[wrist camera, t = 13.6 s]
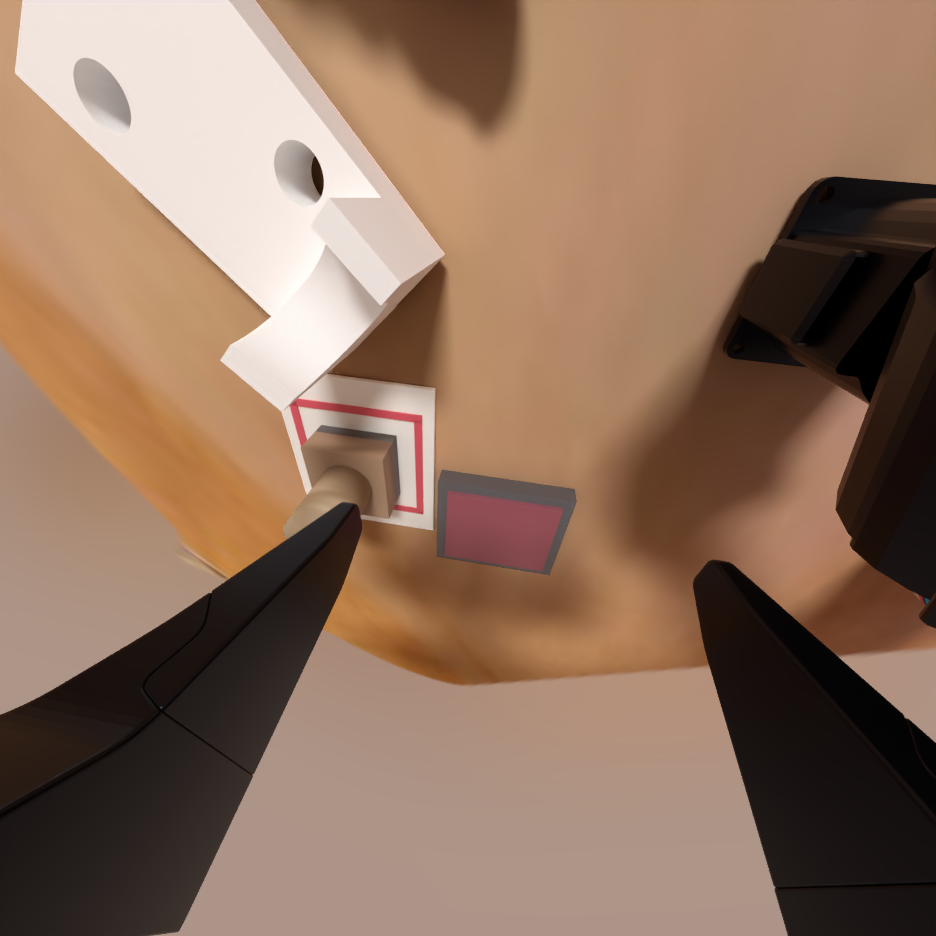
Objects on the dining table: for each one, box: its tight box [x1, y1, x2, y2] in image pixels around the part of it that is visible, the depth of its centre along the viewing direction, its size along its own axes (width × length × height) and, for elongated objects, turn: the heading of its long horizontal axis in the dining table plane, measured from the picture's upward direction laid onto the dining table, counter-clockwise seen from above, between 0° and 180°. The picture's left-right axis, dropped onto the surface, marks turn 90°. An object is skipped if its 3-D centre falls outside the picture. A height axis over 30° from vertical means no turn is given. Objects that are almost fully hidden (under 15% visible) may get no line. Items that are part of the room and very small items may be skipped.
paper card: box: [282, 374, 436, 530], centre depth 24 cm, size 10×12×1 cm
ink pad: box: [437, 470, 576, 575], centre depth 25 cm, size 9×8×2 cm
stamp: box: [283, 425, 400, 539], centre depth 21 cm, size 5×5×7 cm
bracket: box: [15, 0, 445, 412], centre depth 12 cm, size 13×7×8 cm, turn 41°
